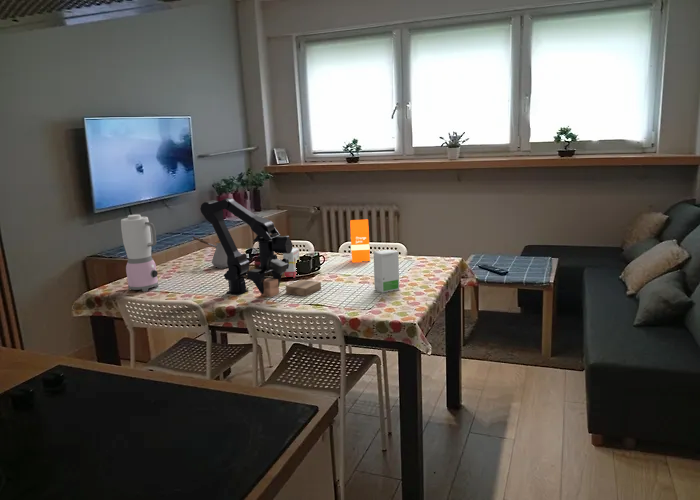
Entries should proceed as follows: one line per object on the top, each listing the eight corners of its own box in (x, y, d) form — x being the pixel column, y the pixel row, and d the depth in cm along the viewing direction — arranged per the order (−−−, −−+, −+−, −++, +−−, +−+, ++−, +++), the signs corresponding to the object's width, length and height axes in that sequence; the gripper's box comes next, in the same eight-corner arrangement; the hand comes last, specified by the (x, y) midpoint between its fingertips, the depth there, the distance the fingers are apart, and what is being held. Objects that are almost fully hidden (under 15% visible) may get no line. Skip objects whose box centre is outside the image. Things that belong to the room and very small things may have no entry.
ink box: (294, 278, 246) (292, 251, 243) (284, 277, 247) (282, 251, 244) (300, 273, 254) (299, 247, 251) (290, 272, 255) (288, 247, 252)
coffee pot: (239, 263, 278) (236, 234, 275) (230, 269, 267) (227, 238, 264) (200, 263, 283) (197, 234, 280) (189, 269, 272) (186, 239, 269)
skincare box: (382, 293, 216) (380, 254, 213) (373, 289, 222) (372, 251, 219) (400, 289, 220) (399, 251, 217) (391, 285, 226) (390, 248, 222)
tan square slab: (286, 293, 224) (285, 285, 223) (301, 286, 232) (301, 279, 231) (306, 296, 218) (305, 288, 218) (321, 289, 226) (320, 282, 226)
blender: (122, 291, 238) (111, 217, 231) (141, 283, 249) (131, 213, 243) (153, 293, 233) (143, 217, 226) (170, 285, 244) (161, 213, 237)
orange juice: (370, 261, 268) (368, 220, 264) (351, 262, 269) (349, 221, 264) (369, 257, 276) (368, 218, 272) (352, 258, 276) (350, 218, 272)
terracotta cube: (261, 295, 222) (260, 281, 221) (269, 292, 226) (268, 277, 225) (271, 297, 220) (269, 282, 218) (279, 293, 224) (277, 279, 222)
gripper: (266, 259, 207) (270, 299, 211) (297, 249, 223) (300, 286, 226) (244, 257, 213) (248, 296, 217) (276, 247, 229) (278, 283, 232)
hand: (269, 290), depth 223 cm, fingers open, 9 cm apart
